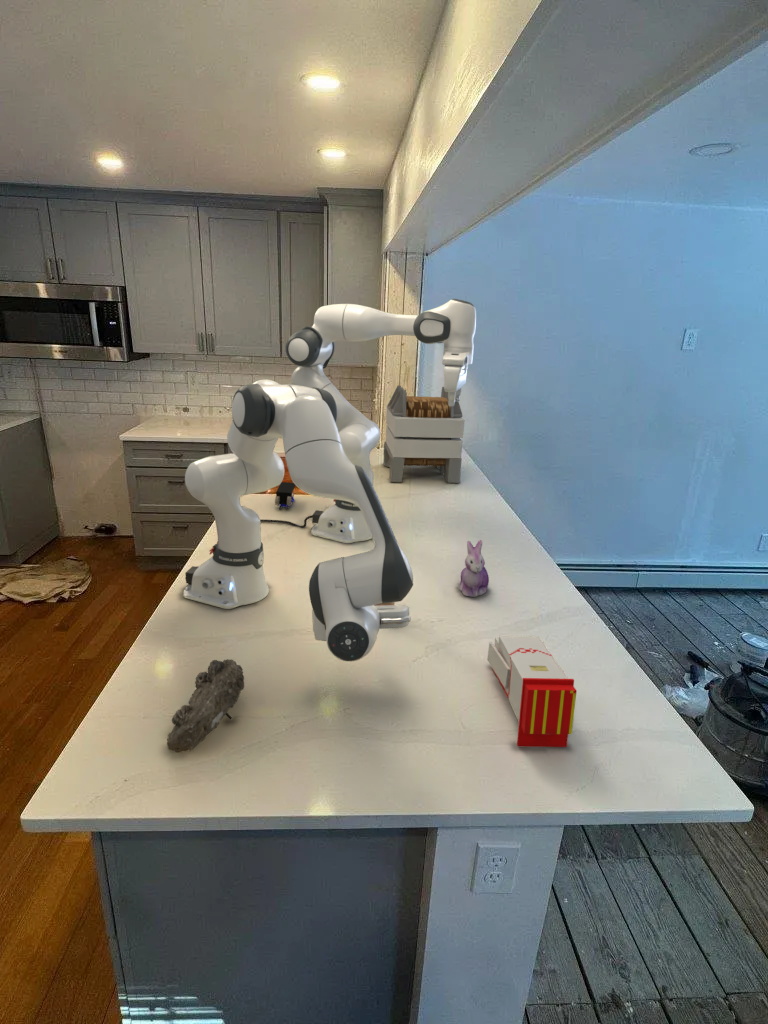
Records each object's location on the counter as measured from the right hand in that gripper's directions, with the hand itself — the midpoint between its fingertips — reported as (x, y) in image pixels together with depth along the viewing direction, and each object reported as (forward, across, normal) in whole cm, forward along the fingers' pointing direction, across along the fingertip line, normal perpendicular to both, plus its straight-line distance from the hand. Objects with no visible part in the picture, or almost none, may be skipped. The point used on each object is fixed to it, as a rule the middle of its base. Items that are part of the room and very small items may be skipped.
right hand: (454, 403), depth 174 cm
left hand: (+36, +70, -6) cm, 79 cm away
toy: (+48, +73, +30) cm, 92 cm away
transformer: (+48, -86, -27) cm, 102 cm away
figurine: (+48, +28, +14) cm, 57 cm away
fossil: (+48, +98, -26) cm, 112 cm away
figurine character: (+48, -18, -66) cm, 83 cm away
